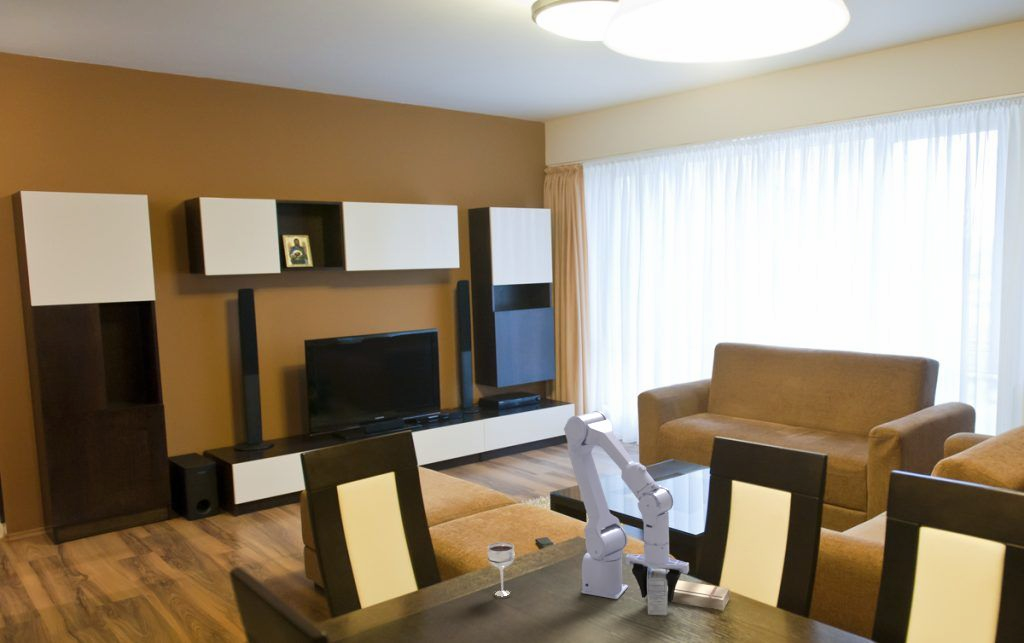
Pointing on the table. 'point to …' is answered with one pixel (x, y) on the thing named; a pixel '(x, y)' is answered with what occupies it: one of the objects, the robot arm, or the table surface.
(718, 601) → the cream striped flat box
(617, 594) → the robot arm
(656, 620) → the table surface
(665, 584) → the medicine box
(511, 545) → the wineglass
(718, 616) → the table surface
